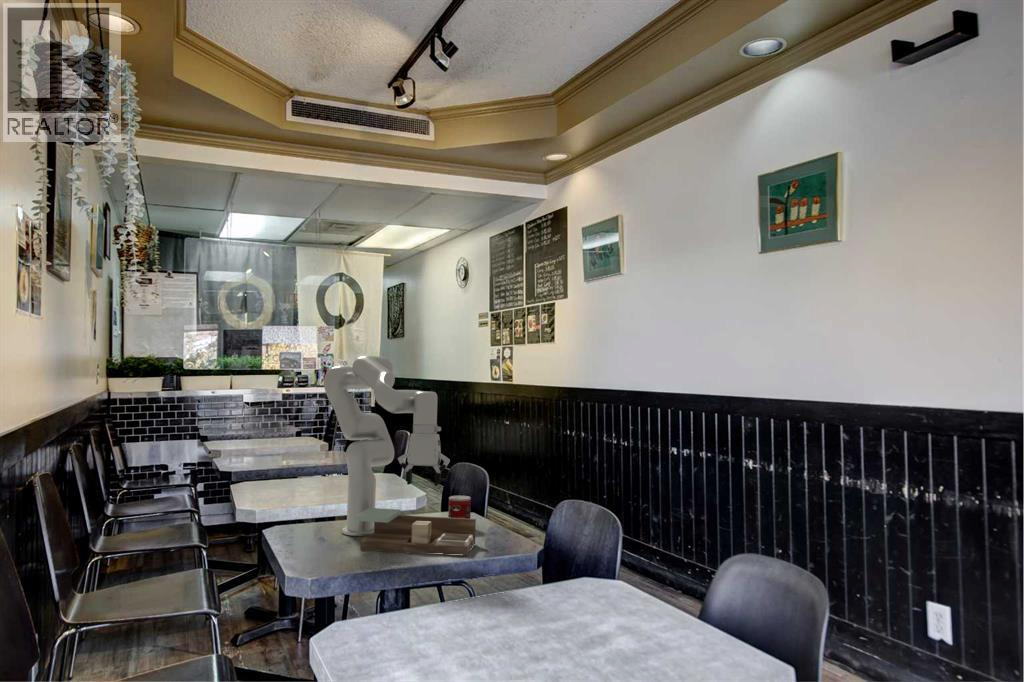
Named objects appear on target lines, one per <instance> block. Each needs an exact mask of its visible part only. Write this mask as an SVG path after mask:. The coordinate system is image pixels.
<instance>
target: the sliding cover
mask: <svg viewBox="0 0 1024 682" xmlns="http://www.w3.org/2000/svg"><path fill="white" fill-rule="evenodd" d="M401 511H402V510H401V509H398V508H397V509H396V508H395V509H394V508H381V507H380V508H378V507H377V508H376V507H375V508H368V509H366V510H364V511H363V512H361V513H359V514H357V515H355V519H354V521H367V522H386V523H388V522H390V521H391V520H393V519H394V518H396V517H397V516H398V515H401V513H402V512H401Z"/></svg>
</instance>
